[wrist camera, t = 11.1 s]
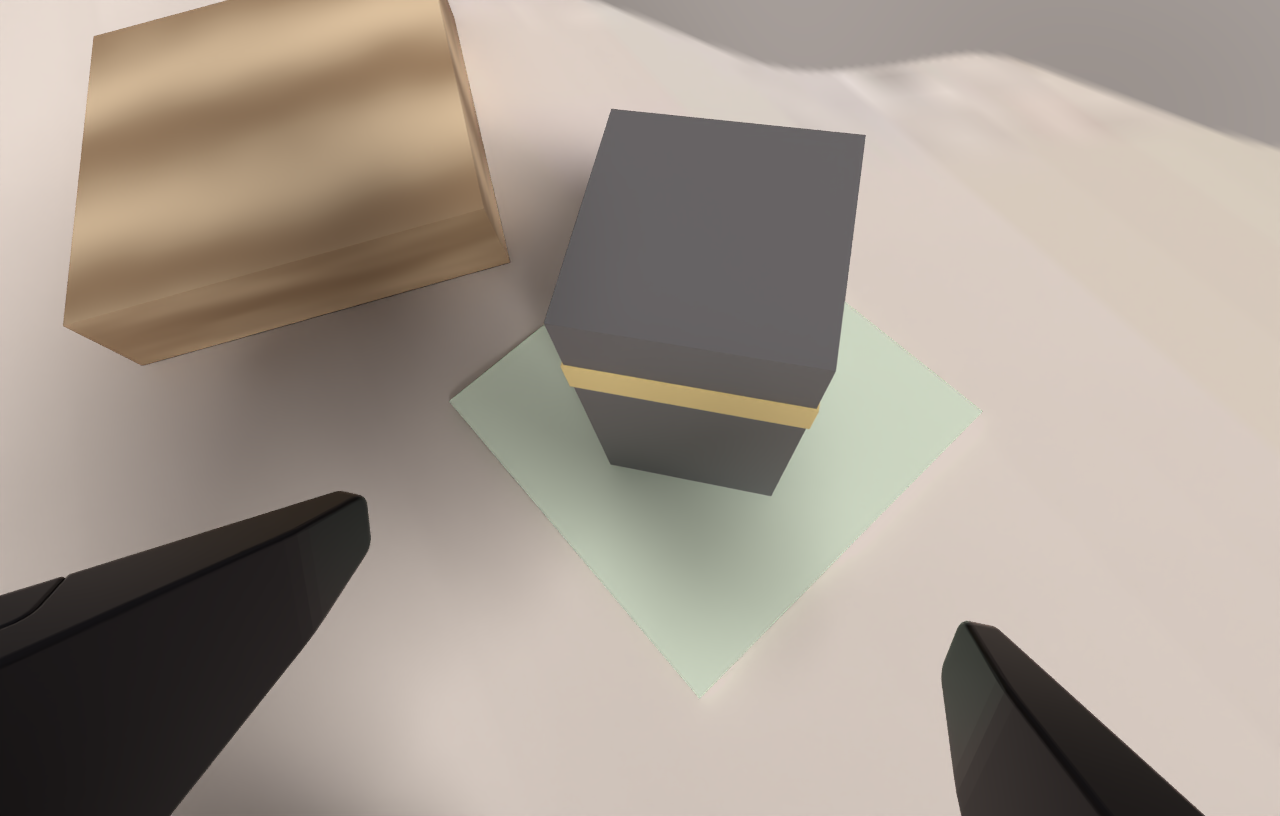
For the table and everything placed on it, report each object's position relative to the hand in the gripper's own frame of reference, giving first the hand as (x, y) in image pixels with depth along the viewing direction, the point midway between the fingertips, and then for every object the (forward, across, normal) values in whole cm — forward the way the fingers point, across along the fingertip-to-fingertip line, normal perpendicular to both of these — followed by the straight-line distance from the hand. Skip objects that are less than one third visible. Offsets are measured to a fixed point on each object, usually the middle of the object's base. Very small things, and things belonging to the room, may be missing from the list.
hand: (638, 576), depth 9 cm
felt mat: (+11, 0, +2) cm, 11 cm away
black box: (+11, 0, +2) cm, 11 cm away
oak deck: (+16, +18, -3) cm, 24 cm away
